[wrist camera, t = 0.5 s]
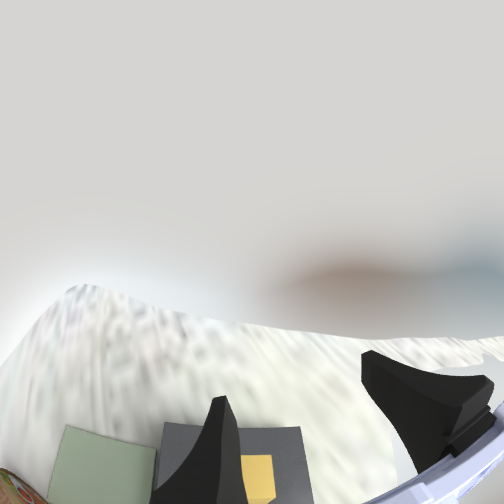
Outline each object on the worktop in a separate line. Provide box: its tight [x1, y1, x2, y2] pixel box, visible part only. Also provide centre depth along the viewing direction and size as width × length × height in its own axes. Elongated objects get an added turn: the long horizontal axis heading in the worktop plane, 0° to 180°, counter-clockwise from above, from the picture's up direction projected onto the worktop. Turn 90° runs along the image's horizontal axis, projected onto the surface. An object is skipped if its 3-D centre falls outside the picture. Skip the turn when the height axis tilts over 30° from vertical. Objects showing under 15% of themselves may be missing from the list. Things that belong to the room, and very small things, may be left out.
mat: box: [47, 425, 157, 504], centre depth 16 cm, size 11×11×1 cm
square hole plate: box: [157, 422, 314, 504], centre depth 18 cm, size 14×14×3 cm
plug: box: [241, 455, 276, 504], centre depth 17 cm, size 4×5×8 cm
